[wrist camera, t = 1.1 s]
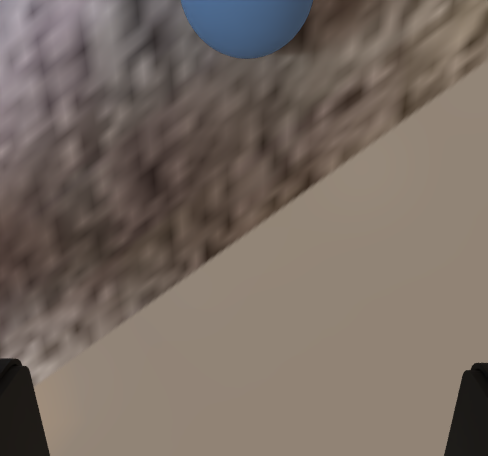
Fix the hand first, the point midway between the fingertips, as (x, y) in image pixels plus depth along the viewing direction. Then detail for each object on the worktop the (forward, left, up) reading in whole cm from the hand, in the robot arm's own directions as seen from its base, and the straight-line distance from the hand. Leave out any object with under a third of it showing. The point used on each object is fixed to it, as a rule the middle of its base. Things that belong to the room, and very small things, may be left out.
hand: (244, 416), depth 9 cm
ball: (+5, +8, -15) cm, 18 cm away
